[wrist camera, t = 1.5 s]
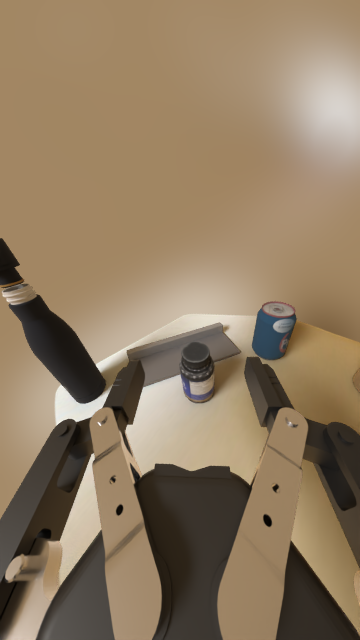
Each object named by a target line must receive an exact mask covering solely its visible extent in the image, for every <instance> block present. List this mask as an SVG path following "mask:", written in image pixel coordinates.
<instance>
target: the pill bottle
mask: <svg viewBox="0 0 360 640" xmlns="http://www.w3.org/2000/svg"><path fill="white" fill-rule="evenodd" d="M181 355H182V358H181V360H180V364H179V366H180V373H181V378H182V384H183V389H184V394H185V396H186V397H187V398H188V399H189V400H190V401H192V402H194V403H204V402H207V401H208V400H209V399H210V398H211V397H212V396H213V393H214V361H213V359H212V357H211V356H210V350H209V348H208V346H207V345H205V344H204V343H201V342H191V343H188V344H186V345H185V346H184V347H183V348H182V351H181Z"/></svg>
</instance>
